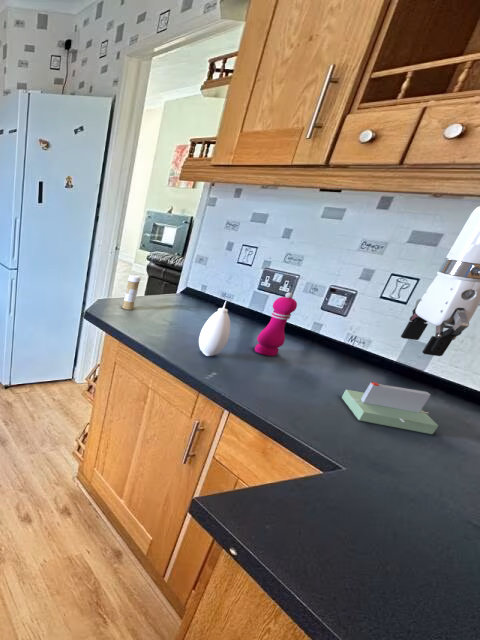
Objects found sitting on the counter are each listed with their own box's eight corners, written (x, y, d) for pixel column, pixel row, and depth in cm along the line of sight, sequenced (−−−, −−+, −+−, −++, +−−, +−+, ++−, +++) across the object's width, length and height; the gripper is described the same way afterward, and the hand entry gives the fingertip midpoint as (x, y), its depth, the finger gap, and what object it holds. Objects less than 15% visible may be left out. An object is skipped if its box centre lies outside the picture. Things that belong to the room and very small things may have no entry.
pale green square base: (407, 406, 107) (413, 398, 106) (439, 438, 95) (446, 429, 93) (336, 394, 112) (341, 385, 111) (358, 423, 99) (363, 414, 98)
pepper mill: (257, 355, 133) (281, 294, 124) (249, 346, 139) (272, 288, 130) (282, 357, 132) (309, 296, 122) (273, 349, 138) (298, 290, 128)
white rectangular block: (415, 409, 101) (428, 391, 98) (419, 412, 100) (431, 394, 97) (360, 399, 104) (370, 381, 102) (363, 402, 103) (373, 384, 101)
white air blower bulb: (192, 348, 137) (209, 295, 128) (218, 351, 135) (237, 298, 126) (196, 358, 130) (214, 302, 121) (224, 361, 128) (244, 305, 120)
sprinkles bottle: (121, 306, 175) (128, 274, 168) (133, 307, 174) (140, 275, 167) (122, 309, 171) (129, 276, 164) (134, 310, 170) (141, 277, 163)
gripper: (521, 282, 76) (464, 365, 85) (464, 263, 91) (421, 335, 99) (468, 277, 79) (418, 358, 87) (421, 259, 93) (382, 330, 101)
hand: (419, 346), depth 93 cm, fingers open, 9 cm apart
